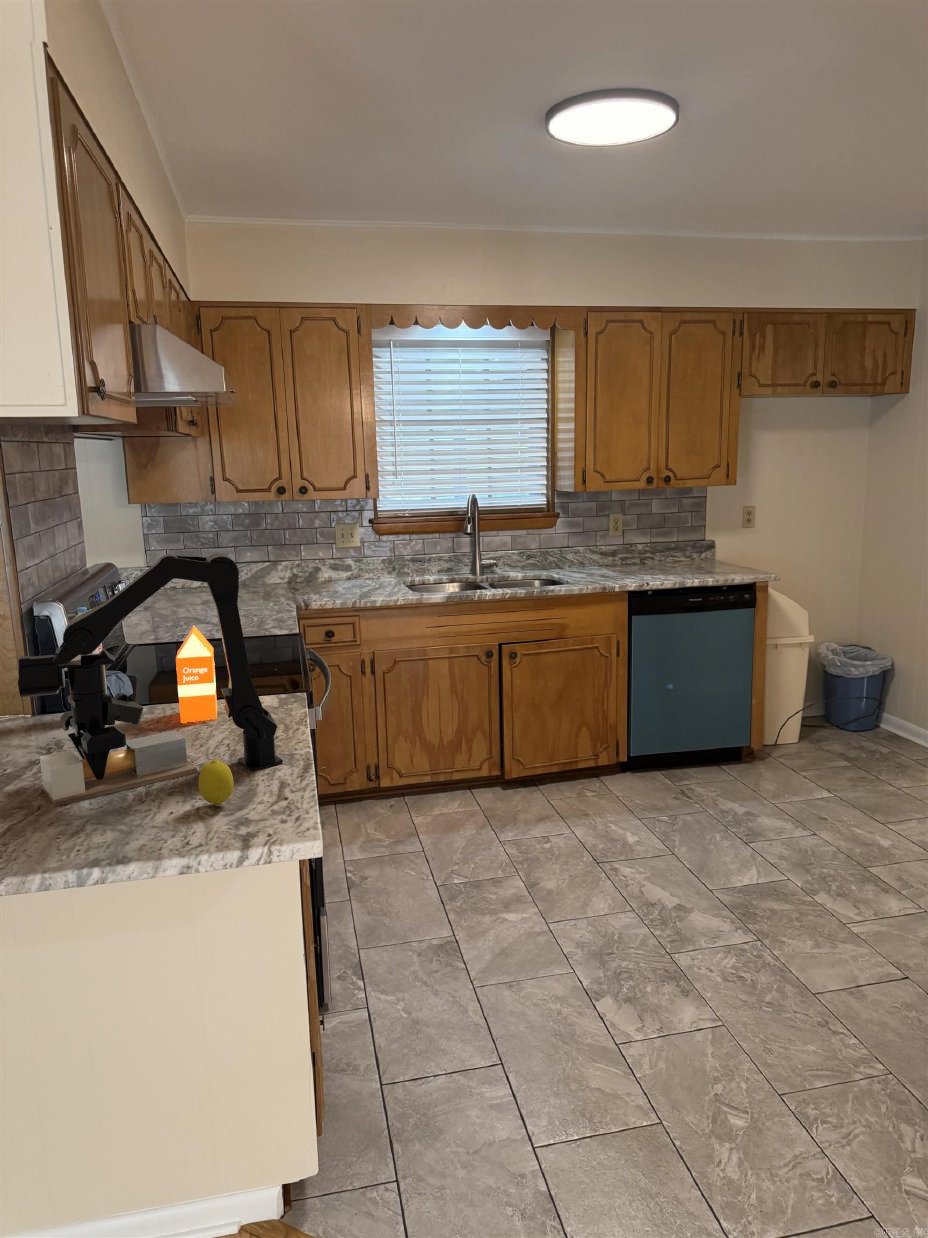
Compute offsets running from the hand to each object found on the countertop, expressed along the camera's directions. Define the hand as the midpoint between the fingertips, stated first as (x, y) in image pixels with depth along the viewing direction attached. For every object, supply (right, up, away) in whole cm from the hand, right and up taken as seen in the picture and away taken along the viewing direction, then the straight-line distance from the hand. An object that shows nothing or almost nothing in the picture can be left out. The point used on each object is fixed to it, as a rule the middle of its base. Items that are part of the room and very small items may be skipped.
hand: (96, 775), depth 146 cm
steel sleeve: (+8, 0, +7) cm, 11 cm away
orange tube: (+1, 0, +1) cm, 2 cm away
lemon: (+24, -4, -9) cm, 26 cm away
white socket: (-4, -2, -3) cm, 6 cm away
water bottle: (-18, +5, +39) cm, 43 cm away
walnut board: (+3, -1, +3) cm, 4 cm away
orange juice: (+6, +6, +40) cm, 40 cm away
